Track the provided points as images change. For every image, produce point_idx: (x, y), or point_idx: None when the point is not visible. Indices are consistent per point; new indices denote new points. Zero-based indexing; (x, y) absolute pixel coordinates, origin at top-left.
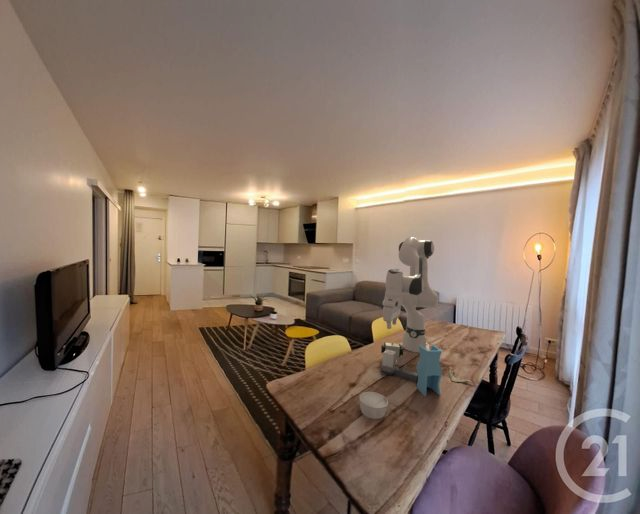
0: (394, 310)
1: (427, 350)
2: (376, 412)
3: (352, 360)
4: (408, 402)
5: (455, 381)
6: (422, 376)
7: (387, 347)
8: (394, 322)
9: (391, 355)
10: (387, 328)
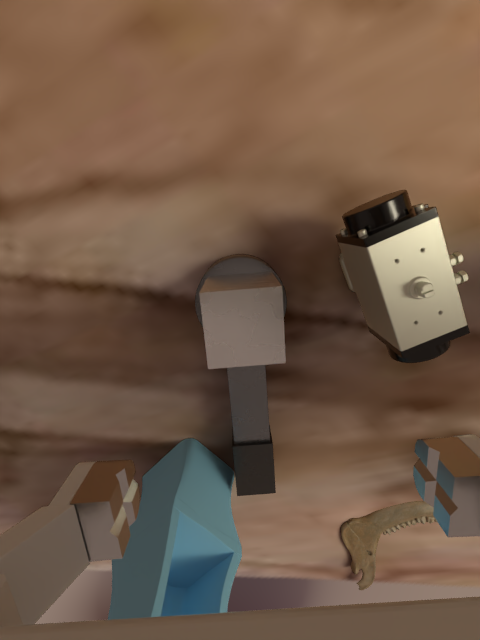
0: None
1: None
2: None
3: (242, 31)
4: (47, 447)
5: (343, 538)
6: (144, 515)
7: (365, 261)
8: (439, 501)
9: (207, 352)
10: (81, 466)
